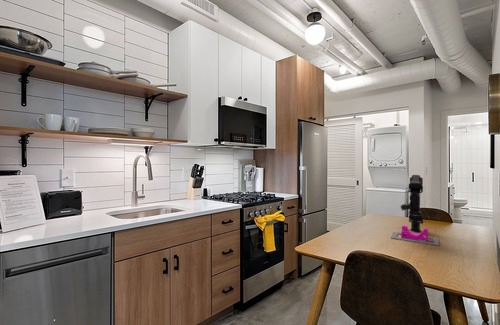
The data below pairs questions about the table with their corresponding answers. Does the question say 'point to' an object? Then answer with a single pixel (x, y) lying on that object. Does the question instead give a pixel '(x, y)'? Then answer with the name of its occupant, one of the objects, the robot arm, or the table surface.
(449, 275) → the table surface
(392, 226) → the table surface
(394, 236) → the frame
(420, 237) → the toy block
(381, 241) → the table surface
